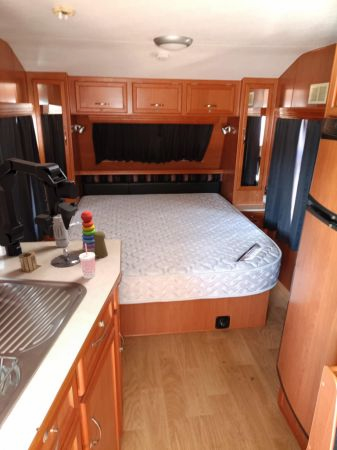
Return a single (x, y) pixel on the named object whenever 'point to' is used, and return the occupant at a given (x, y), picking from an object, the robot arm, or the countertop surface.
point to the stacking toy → (88, 231)
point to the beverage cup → (88, 263)
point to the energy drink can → (60, 232)
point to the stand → (29, 271)
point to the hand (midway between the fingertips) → (59, 233)
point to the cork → (100, 245)
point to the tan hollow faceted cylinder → (28, 261)
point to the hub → (65, 260)
